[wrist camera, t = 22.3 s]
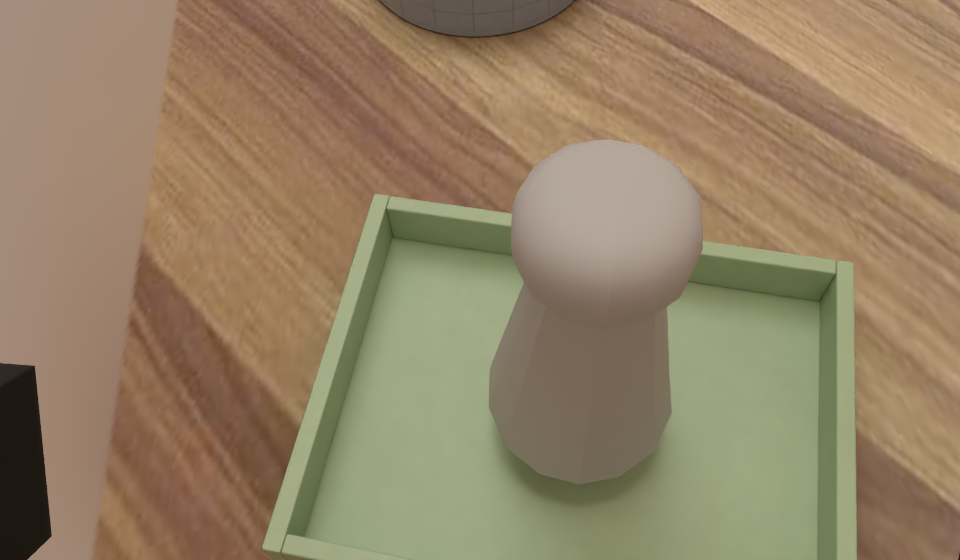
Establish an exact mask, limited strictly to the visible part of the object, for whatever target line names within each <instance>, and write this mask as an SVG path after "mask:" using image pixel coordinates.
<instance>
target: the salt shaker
mask: <svg viewBox="0 0 960 560" xmlns="http://www.w3.org/2000/svg"><path fill="white" fill-rule="evenodd" d="M511 250H512V257H513V261H514V263H515V265H516V267H517V269H518V271H519V273H520V275H521V277H522V279H523V281H524V283H523V285H522V288H521V290H520V293H519V296H518V298H517V301H516V303H515V306H514V308H513V311H512V313H511V316H510V318H509V321H508V324H507V326H506V329H505V331H504V334H503V336H502V339H501V341H500V344H499V346H498V349H497V352H496V354H495V357H494V359H493V362H492V364H491V367H490V376H489V409H490V411H491V414H492V416H493V418H494V421H495V423H496V425H497V428H498V430H499V432H500V434H501V437H502V439H503V441H504V444H505V445H506V447H507V448H508V449H509V450H510V451H511V452H513V453H514V454H515V455H516V456H517V457H519V458H520V459H521V460H522V461H524V462H525V463H526V464H527V465H529V466H530V467H531V468H532V469H534V470H535V471H536V472H537V473H539V474H541V475H545V476H549V477H553V478H556V479H560V480H564V481H567V482H571V483H575V484H584V483H590V482H595V481H601V480H606V479H611V478H617V477H620V476H622V475H623V474H624V473H626V472H627V471H628V470H630V469H631V468H632V467H634V466H635V465H636V464H638V463H639V462H640V461H642V460H643V459H644V458H646V457H647V456H648V455H650V454H651V453H652V452H653V451H654V450H655V448H656V446H657V444H658V442H659V440H660V438H661V435H662V433H663V431H664V429H665V427H666V425H667V422H668V420H669V418H670V416H671V414H672V410H671V392H670V373H669V344H668V316H667V306H669V305H670V304H672V303H673V302H675V301H676V300H677V299H679V298H680V297H681V295H682V293H683V291H684V289H685V287H686V285H687V283H688V281H689V278H690V276H691V274H692V272H693V270H694V268H695V266H696V264H697V261H698V259H699V257H700V254H701V252H702V250H703V228H702V214H701V201H700V196H699V195H698V193H697V192H696V191H695V189H694V188H693V186H692V185H691V183H690V182H689V180H688V179H687V178H686V176H685V175H684V173H683V172H682V170H681V169H680V168H679V167H678V166H677V165H675V164H674V163H672V162H670V161H669V160H667V159H666V158H664V157H663V156H661V155H659V154H658V153H656V152H655V151H653V150H652V149H650V148H648V147H647V146H643V145H638V144H632V143H627V142H621V141H616V140H610V139H602V140H595V141H589V142H582V143H575V144H569V145H566V146H564V147H563V148H561V149H560V150H558V151H556V152H555V153H553V154H552V155H550V156H548V157H547V158H545V159H544V160H542V161H540V162H539V163H537V164H536V165H535V166H534V168H533V169H532V171H531V172H530V174H529V175H528V177H527V178H526V180H525V182H524V183H523V185H522V186H521V188H520V189H519V191H518V192H517V194H516V197H515V201H514V204H513V207H512V222H511Z"/></svg>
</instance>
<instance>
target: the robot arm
mask: <svg viewBox="0 0 960 560" xmlns="http://www.w3.org/2000/svg"><path fill="white" fill-rule="evenodd" d="M50 526H51V525H50V516H49V505H48V495H47V485H46V475H45V464H44V455H43V445H42V435H41V425H40V414H39V405H38V395H37V384H36V374H35V366H28V365H14V364H2V363H0V560H27V559H28V558H29V557H30V556H31V555H32V554H33V553H35V552H36V551H37V550H38V549H39V548H40V546H42V545H43V544H44V543H45V542H46V541H47V540H48V539H49V538H50V537H51V527H50ZM958 560H960V554H959V559H958Z"/></svg>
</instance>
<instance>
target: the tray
mask: <svg viewBox="0 0 960 560" xmlns="http://www.w3.org/2000/svg"><path fill="white" fill-rule="evenodd" d="M511 222H512V214H511V213H504V212H497V211H490V210H483V209H476V208H469V207H462V206H455V205H448V204H441V203H434V202H427V201H420V200H413V199H407V198H400V197H393V196H391V197H389V196H387V195H380V194H374V196H373V199H372V202H371V206H370V209H369V212H368V215H367V218H366V221H365V224H364V228H363V231H362V234H361V237H360V240H359V243H358V247H357V250H356V253H355V256H354V259H353V262H352V265H351V269H350V272H349V275H348V278H347V281H346V284H345V287H344V291H343V294H342V297H341V300H340V303H339V306H338V310H337V313H336V316H335V319H334V322H333V325H332V328H331V332H330V335H329V338H328V341H327V344H326V347H325V351H324V354H323V357H322V360H321V363H320V366H319V369H318V373H317V376H316V379H315V382H314V385H313V388H312V391H311V395H310V398H309V401H308V404H307V407H306V410H305V414H304V417H303V420H302V423H301V426H300V429H299V432H298V436H297V439H296V442H295V445H294V448H293V451H292V455H291V458H290V461H289V464H288V467H287V470H286V473H285V477H284V480H283V483H282V486H281V489H280V492H279V495H278V499H277V502H276V505H275V508H274V511H273V514H272V518H271V521H270V524H269V527H268V530H267V533H266V536H265V540H264V543H263V546H262V550H263V551H264V552H266V553H267V554H268V555H269V556H270V557H271V558H272V559H273V560H857V493H856V400H855V308H854V263H853V262H846V261H839V260H838V261H836V260H832V259H825V258H818V257H811V256H804V255H797V254H790V253H783V252H776V251H769V250H762V249H755V248H748V247H741V246H734V245H727V244H720V243H714V242H707V241H703V250H702V252H701V254H700V257H699V259H698V261H697V264H696V266H695V268H694V270H693V272H692V274H691V276H690V278H689V281H688V283H687V285H686V287H685V289H684V291H683V293H682V295H681V297H680V298H679V299H677V300H676V301H675V302H673V303H672V304H670V305H669V306H667V316H668V344H669V373H670V392H671V410H672V414H671V416H670V418H669V420H668V422H667V425H666V427H665V429H664V431H663V433H662V435H661V438H660V440H659V442H658V444H657V446H656V448H655V450H654V451H653V452H652V453H651V454H650V455H648V456H647V457H646V458H644V459H643V460H642V461H640V462H639V463H638V464H636V465H635V466H634V467H632V468H631V469H630V470H628V471H627V472H626V473H624V474H623V475H622V476H620V477H617V478H611V479H606V480H601V481H595V482H590V483H584V484H575V483H571V482H567V481H564V480H560V479H556V478H553V477H549V476H545V475H541V474H539V473H537V472H536V471H535V470H534V469H532V468H531V467H530V466H529V465H527V464H526V463H525V462H524V461H522V460H521V459H520V458H519V457H517V456H516V455H515V454H514V453H513V452H511V451H510V450H509V449H508V448H507V447H506V445H505V444H504V441H503V439H502V437H501V434H500V432H499V430H498V428H497V425H496V423H495V421H494V418H493V416H492V414H491V411H490V409H489V376H490V367H491V364H492V362H493V359H494V357H495V354H496V352H497V349H498V346H499V344H500V341H501V339H502V336H503V334H504V331H505V329H506V326H507V324H508V321H509V318H510V316H511V313H512V311H513V308H514V306H515V303H516V301H517V298H518V296H519V293H520V290H521V288H522V285H523V283H524V281H523V279H522V277H521V275H520V273H519V271H518V269H517V267H516V265H515V263H514V261H513V257H512V250H511Z"/></svg>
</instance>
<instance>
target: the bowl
mask: <svg viewBox="0 0 960 560" xmlns="http://www.w3.org/2000/svg"><path fill="white" fill-rule="evenodd" d="M380 1H381V2H382V3H383V4H384V5H385V6H386V7H387V8H388V9H390V10H391V11H392V12H394V13H395V14H396V15H398V16H399V17H401V18H403V19H405V20H406V21H408V22H410V23H412V24H414V25H417V26H419V27H422V28H424V29H428V30H431V31H435V32H439V33H444V34H450V35H456V36H470V37H474V36H493V35H501V34H506V33H511V32H515V31H520V30H523V29H526V28H529V27H532V26H535V25H537V24H539V23H541V22H543V21H546V20H548V19H549V18H551V17H553V16H554V15H556V14H558V13H560V12H561V11H562V10H563V9H565V8H566V7H567V6H569V5H570V4H571V3H572V2H573V1H574V0H380Z"/></svg>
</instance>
